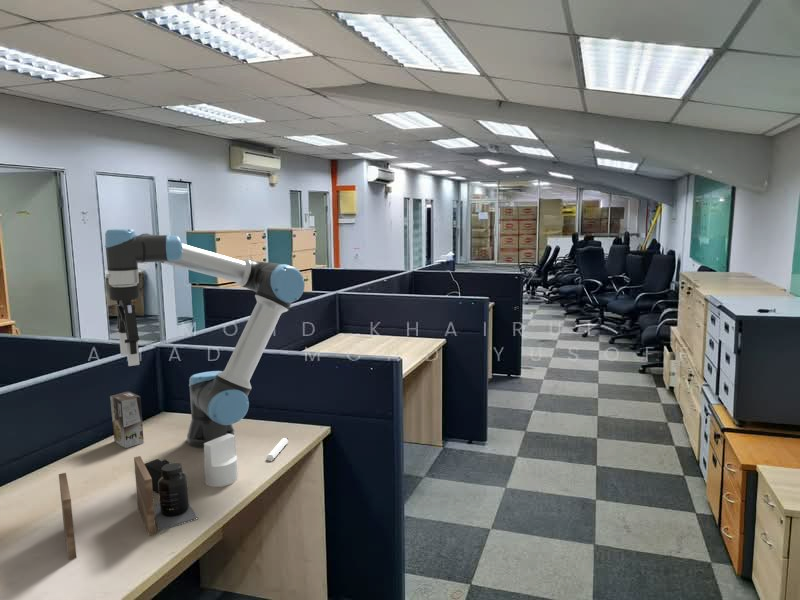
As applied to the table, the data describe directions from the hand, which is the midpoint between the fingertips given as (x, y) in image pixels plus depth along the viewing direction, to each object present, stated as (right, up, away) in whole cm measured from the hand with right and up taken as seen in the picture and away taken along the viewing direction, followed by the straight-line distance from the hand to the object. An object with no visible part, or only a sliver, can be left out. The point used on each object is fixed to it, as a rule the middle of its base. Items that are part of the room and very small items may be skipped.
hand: (129, 359), depth 158 cm
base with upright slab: (+25, -35, +3) cm, 43 cm away
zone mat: (+18, -37, -15) cm, 44 cm away
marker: (+37, -32, +23) cm, 54 cm away
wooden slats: (+6, -39, -23) cm, 46 cm away
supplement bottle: (+19, -37, -15) cm, 44 cm away
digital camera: (+11, -36, -2) cm, 37 cm away
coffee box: (-14, -31, +29) cm, 45 cm away
